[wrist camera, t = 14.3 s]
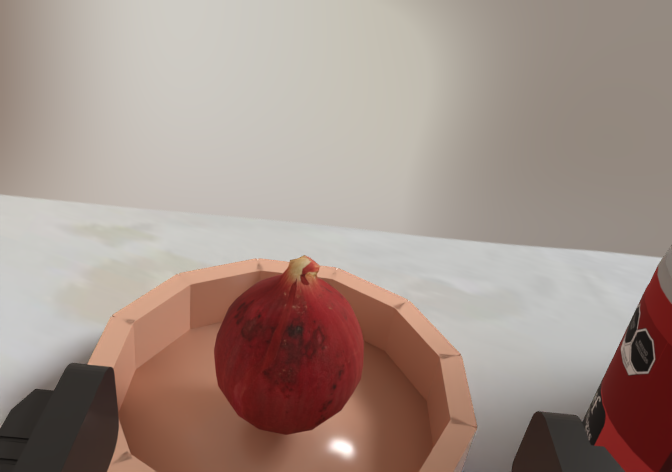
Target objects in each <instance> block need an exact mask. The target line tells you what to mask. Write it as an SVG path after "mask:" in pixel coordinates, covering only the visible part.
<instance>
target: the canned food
mask: <svg viewBox="0 0 672 472" xmlns="http://www.w3.org/2000/svg"><path fill="white" fill-rule="evenodd" d="M582 423H583V426H584V428H585V431H586V433H587V436H588V439H589V441H590V444H591V445H593V446H603V447H605V448H606V449H607V450H608V452H609V453H610V454H611V455H612V456H613V458H614V459H615V460H616V461H617V462H618V463H619V465H620V466H621V467H622V468H623V469H624V471H625V472H672V245H671V246H670V248H669V250H668V251H667V253H666V255H665V256H664V257H663V258H662V260H661V261H660V263H659V265H658V267H657V269H656V271H655V273H654V275H653V277H652V279H651V281H650V283H649V285H648V286H647V288H646V290H645V292H644V294H643V296H642V298H641V300H640V302H639V304H638V307H637V309H636V311H635V313H634V315H633V317H632V319H631V321H630V323H629V325H628V327H627V330H626V332H625V334H624V336H623V338H622V340H621V342H620V344H619V346H618V348H617V350H616V353H615V355H614V357H613V359H612V361H611V363H610V365H609V367H608V369H607V371H606V374H605V376H604V378H603V380H602V382H601V384H600V386H599V388H598V390H597V392H596V394H595V397H594V399H593V401H592V403H591V405H590V407H589V409H588V411H587V413H586V415H585V418H584V420H583V422H582Z"/></svg>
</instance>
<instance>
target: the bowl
mask: <svg viewBox="0 0 672 472" xmlns="http://www.w3.org/2000/svg"><path fill="white" fill-rule="evenodd" d="M288 265H289V262H285V261H277V260H268V259H260V258H259V259H258V260H257V259H251V260H246V261H240V262H235V263H230V264H225V265H219V266H214V267H209V268H204V269H198V270H193V271H188V272H183V273H179V275H178V274H176V275H175V276H173V277H172V278H170V279H168V280H167V281H165V282H164V283H162V284H160V285H159V286H157V287H156V288H154V289H153V290H151V291H149V292H148V293H146V294H145V295H143V296H142V297H140V298H138V299H137V300H135V301H134V302H132V303H131V304H129V305H127V306H126V307H124V308H123V309H121V310H119V311H118V312H116V313H115V314H113V315H112V317H110V319H109V321H108V323H107V325H106V327H105V329H104V331H103V333H102V335H101V337H100V339H99V341H98V343H97V346H96V348H95V350H94V352H93V354H92V356H91V358H90V360H89V362H88V365H98V366H107V367H112V368H113V369H114V373H115V383H116V394H117V405H118V415H119V431H118V438H117V443H116V447H115V451H114V454H113V457H112V460H111V463H110V465H109V468H108V471H107V472H461V471H462V468H463V466H464V463H465V460H466V457H467V455H468V452H469V449H470V446H471V444H472V441H473V438H474V435H475V432H476V430H477V429H476V428H477V424H476V419H475V415H474V410H473V405H472V401H471V396H470V392H469V387H468V382H467V378H466V373H465V369H464V364H463V360H462V356H460V355H461V354H460V353H459V352H458V351H457V350H456V349H455V348H454V347H453V346H452V345H451V344H450V343H449V341H448V340H447V339H446V338H445V337H444V336H443V335H442V334H441V333H440V332H439V331H438V330H437V329H436V328H435V327H434V326H433V325H432V324H431V323H430V322H429V320H428V319H427V318H426V317H425V316H424V315H423V314H422V313H421V312H420V311H419V310H418V309H417V308H416V307H415V306H414V305H413V304H412V303H411V302H410V301H409V302H408V300H407V299H405V298H403V297H401V296H399V295H396V294H394V293H392V292H390V291H388V290H385V289H383V288H381V287H379V286H377V285H374V284H372V283H370V282H368V281H366V280H363V279H361V278H359V277H357V276H355V275H352V274H350V273H348V272H346V271H344V270H341V269H339V268H338V269H337V270H336V268H335V267H327V266H320V268H319V272H318V273H317V277H318V278H320V279H322V280H324V281H325V282H327V283H328V284H329V285H331V286H332V287H334V288H335V289H336V290H338V291H339V292H340V293H341V294H342V295H343V296H344V297H345V298H346V299H347V301H348V302H349V303H350V305H351V307H352V309H353V311H354V313H355V316H356V318H357V320H358V322H359V325H360V327H361V330H362V334H363V341H364V358H363V369H362V376H361V380H360V382H359V384H358V385H357V387H356V389H355V391H354V393H353V394H352V396H351V397H350V399H349V400H348V401H347V403H346V404H345V406H344V407H343V409H342V410H341V411H340V412H338V413H337V414H335V415H334V416H332V417H331V418H329V419H328V420H326V421H325V422H323V423H322V424H320V425H319V426H317V427H316V428H314V429H313V430H310V431H304V432H299V433H294V434H289V435H284V434H279V433H274V432H269V431H264V430H259V429H258V428H256V427H255V426H253V425H252V424H250V423H249V422H247V421H246V420H244V419H243V418H241V417H240V416H238V415H237V413H236V412H235V410H234V409H233V407H232V406H231V405H230V403H229V402H228V400H227V399H226V397H225V396H224V394H223V393H222V391H221V390H220V388H219V387H218V383H217V377H216V370H215V359H214V347H215V342H216V336H217V333H218V331H219V329H220V326H221V324H222V322H223V320H224V317H225V315H226V313H227V310H228V308H229V307H230V306H231V304H232V303H233V302H234V301H235V299H236V298H238V297H239V296H240V295H241V294H243V293H244V292H245V291H246V290H248V289H249V288H250V287H252V286H253V285H254V284H255V283H257V282H259V281H261V280H263V279H266V278H269V277H273V276H277V275H281V274H283V273H284V272H285V270H286V269H287V268H288Z"/></svg>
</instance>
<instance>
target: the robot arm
mask: <svg viewBox="0 0 672 472" xmlns="http://www.w3.org/2000/svg"><path fill="white" fill-rule="evenodd" d="M118 431H119V415H118V405H117V394H116V383H115V373H114V369H113V368H112V367H107V366H98V365H88V364H78V363H71V364H69V365H68V366H67V367H66V369H65V371H64V373H63V374H62V376H61V378H60V380H59V382H58V384H57V386H56V388H55V390H54V391H51V390H41V389H35V390H34V391H33V392H31V393H30V394H29V395H28V396H27V397H26V398H24V399H23V400H22V401H21V402H20V403H19V404H17V405H16V406H15V407H14V408H13V409H12V410H11V411H10V413H9V415H8V416H7V418H6V420H5V421H4V423H3V425H2V427H1V428H0V472H107V471H108V468H109V465H110V463H111V460H112V457H113V454H114V451H115V447H116V443H117V438H118ZM512 472H625V471H624V469H623V468H622V467H621V466H620V465H619V463H618V462H617V461H616V460H615V459H614V458H613V456H612V455H611V454H610V453H609V452H608V450H607V449H606V448H605V447H603V446H593V445H591V444H590V441H589V439H588V436H587V433H586V431H585V428H584V426H583V423H582V421H581V420H580V418H579V417H578V416H576V415H569V414H559V413H549V412H539V411H538V412H536V413H534V415H533V416H532V419H531V421H530V423H529V426H528V428H527V430H526V433H525V435H524V437H523V440H522V442H521V445H520V447H519V449H518V452H517V454H516V456H515V459H514V462H513V465H512Z"/></svg>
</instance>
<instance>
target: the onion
mask: <svg viewBox="0 0 672 472" xmlns="http://www.w3.org/2000/svg"><path fill="white" fill-rule="evenodd" d="M319 268H320V266H319V265H318V264H317V263H316V262H315V261H313V260H312V259H311V258H309V257H307V256H305V255H304V256H302V257H300V258H298V259H293V260H290V262H289V265H288V268H287V269H286V270H285V272H284V273H283V274H281V275H277V276H273V277H269V278H266V279H263V280H261V281H259V282H257V283H255V284H254V285H253V286H252V287H250V288H249V289H248V290H246V291H245V292H244V293H243V294H241V295H240V296H239V297H238V298H236V299H235V301H234V302H233V303H232V304H231V306H230V307H229V308H228V310H227V313H226V315H225V317H224V320H223V322H222V324H221V326H220V329H219V331H218V333H217V336H216V342H215V347H214V359H215V370H216V377H217V383H218V387H219V388H220V390H221V391H222V393H223V394H224V396H225V397H226V399H227V400H228V402H229V403H230V405H231V406H232V407H233V409H234V410H235V412H236V413H237V415H238V416H240V417H241V418H243V419H244V420H246V421H247V422H249V423H250V424H252V425H253V426H255V427H256V428H258V429H259V430H264V431H269V432H274V433H279V434H284V435H289V434H294V433H299V432H304V431H310V430H313V429H314V428H316V427H317V426H319V425H320V424H322V423H323V422H325V421H326V420H328V419H329V418H331V417H332V416H334V415H335V414H337V413H338V412H340V411H341V410H342V409H343V407H344V406H345V404H346V403H347V401H348V400H349V399H350V397H351V396H352V394H353V393H354V391H355V389H356V387H357V385H358V384H359V382H360V380H361V376H362V369H363V358H364V341H363V334H362V330H361V327H360V325H359V322H358V320H357V318H356V316H355V313H354V311H353V309H352V307H351V305H350V303H349V302H348V301H347V299H346V298H345V297H344V296H343V295H342V294H341V293H340V292H339V291H338V290H336V289H335V288H334V287H332V286H331V285H329V284H328V283H327V282H325V281H324V280H322V279H320V278H318V277H317V273H318V272H319Z"/></svg>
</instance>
